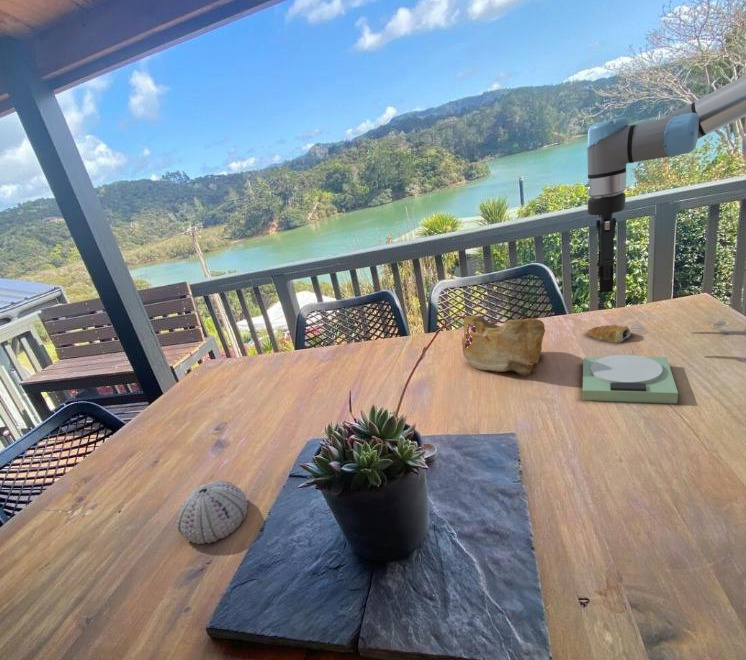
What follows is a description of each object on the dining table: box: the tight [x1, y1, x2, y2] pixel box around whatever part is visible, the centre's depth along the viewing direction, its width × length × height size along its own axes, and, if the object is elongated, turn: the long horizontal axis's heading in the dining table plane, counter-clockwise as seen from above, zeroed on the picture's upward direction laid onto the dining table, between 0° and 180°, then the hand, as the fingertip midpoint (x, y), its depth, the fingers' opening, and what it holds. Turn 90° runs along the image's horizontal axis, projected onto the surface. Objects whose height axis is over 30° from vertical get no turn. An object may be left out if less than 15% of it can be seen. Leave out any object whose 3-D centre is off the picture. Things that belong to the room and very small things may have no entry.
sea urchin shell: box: [175, 480, 248, 545], centre depth 82 cm, size 13×14×8 cm
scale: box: [582, 354, 679, 404], centre depth 94 cm, size 16×16×4 cm
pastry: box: [587, 324, 632, 344], centre depth 115 cm, size 9×7×4 cm
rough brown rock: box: [461, 314, 546, 377], centre depth 112 cm, size 23×17×15 cm
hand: (605, 283), depth 109 cm, fingers open, 13 cm apart
